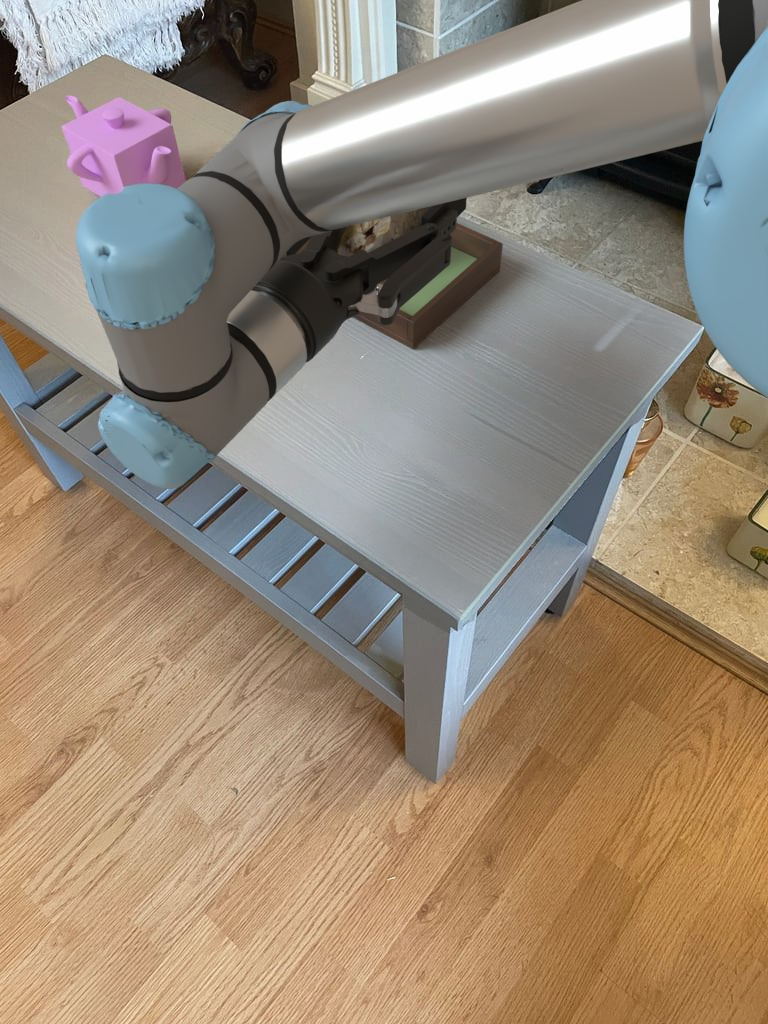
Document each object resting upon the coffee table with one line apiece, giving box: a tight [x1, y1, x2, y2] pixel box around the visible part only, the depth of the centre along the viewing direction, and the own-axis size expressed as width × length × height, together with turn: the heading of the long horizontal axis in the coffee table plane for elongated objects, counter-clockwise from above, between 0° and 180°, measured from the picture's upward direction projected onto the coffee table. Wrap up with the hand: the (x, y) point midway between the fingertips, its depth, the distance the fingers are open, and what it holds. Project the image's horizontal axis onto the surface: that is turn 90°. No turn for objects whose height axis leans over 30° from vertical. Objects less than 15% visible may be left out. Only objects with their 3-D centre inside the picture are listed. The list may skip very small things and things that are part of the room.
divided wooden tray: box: [296, 222, 504, 350], centre depth 95 cm, size 32×17×4 cm, turn 51°
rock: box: [338, 206, 432, 295], centre depth 72 cm, size 12×7×10 cm, turn 141°
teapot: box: [61, 95, 187, 198], centre depth 100 cm, size 15×13×11 cm
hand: (429, 182), depth 73 cm, fingers closed on rock, 6 cm apart
